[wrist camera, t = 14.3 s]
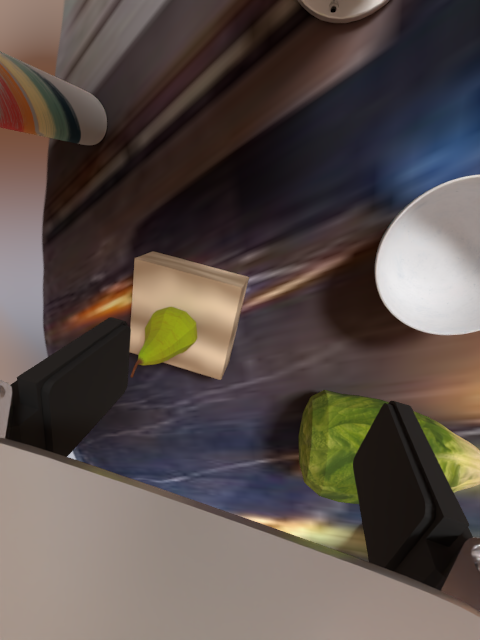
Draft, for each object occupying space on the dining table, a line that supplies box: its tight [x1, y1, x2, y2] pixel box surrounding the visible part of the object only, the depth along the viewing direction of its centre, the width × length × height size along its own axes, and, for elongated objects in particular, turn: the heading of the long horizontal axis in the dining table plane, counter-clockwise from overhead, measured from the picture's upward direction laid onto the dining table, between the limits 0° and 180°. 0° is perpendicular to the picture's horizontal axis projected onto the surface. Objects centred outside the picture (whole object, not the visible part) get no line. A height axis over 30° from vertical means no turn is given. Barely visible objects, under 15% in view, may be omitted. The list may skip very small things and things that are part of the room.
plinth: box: [129, 251, 249, 380], centre depth 42 cm, size 14×14×5 cm
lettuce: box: [299, 390, 480, 504], centre depth 39 cm, size 14×23×13 cm, turn 89°
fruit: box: [131, 306, 197, 377], centre depth 34 cm, size 6×6×12 cm
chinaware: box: [375, 175, 480, 335], centre depth 31 cm, size 15×15×8 cm
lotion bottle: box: [0, 52, 107, 145], centre depth 28 cm, size 6×6×20 cm
